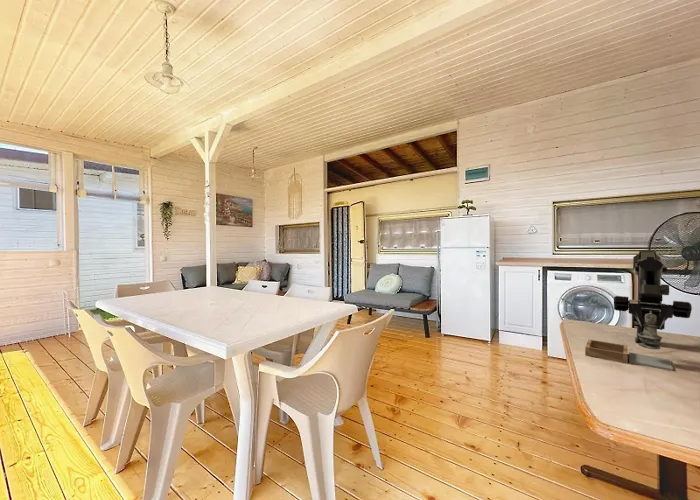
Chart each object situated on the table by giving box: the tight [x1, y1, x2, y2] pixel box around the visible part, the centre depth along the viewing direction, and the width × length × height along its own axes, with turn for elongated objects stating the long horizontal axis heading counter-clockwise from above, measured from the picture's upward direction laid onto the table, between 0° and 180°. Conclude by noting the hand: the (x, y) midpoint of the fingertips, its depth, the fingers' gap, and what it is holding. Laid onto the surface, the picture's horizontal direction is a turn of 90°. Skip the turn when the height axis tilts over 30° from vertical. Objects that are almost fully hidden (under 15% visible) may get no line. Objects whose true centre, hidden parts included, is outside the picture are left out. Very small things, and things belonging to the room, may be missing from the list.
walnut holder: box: [584, 339, 629, 364], centre depth 109 cm, size 11×11×3 cm
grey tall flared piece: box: [638, 311, 663, 350], centre depth 102 cm, size 6×6×12 cm
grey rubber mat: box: [628, 352, 674, 372], centre depth 102 cm, size 10×10×1 cm
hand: (650, 327), depth 101 cm, fingers closed on grey tall flared piece, 4 cm apart
